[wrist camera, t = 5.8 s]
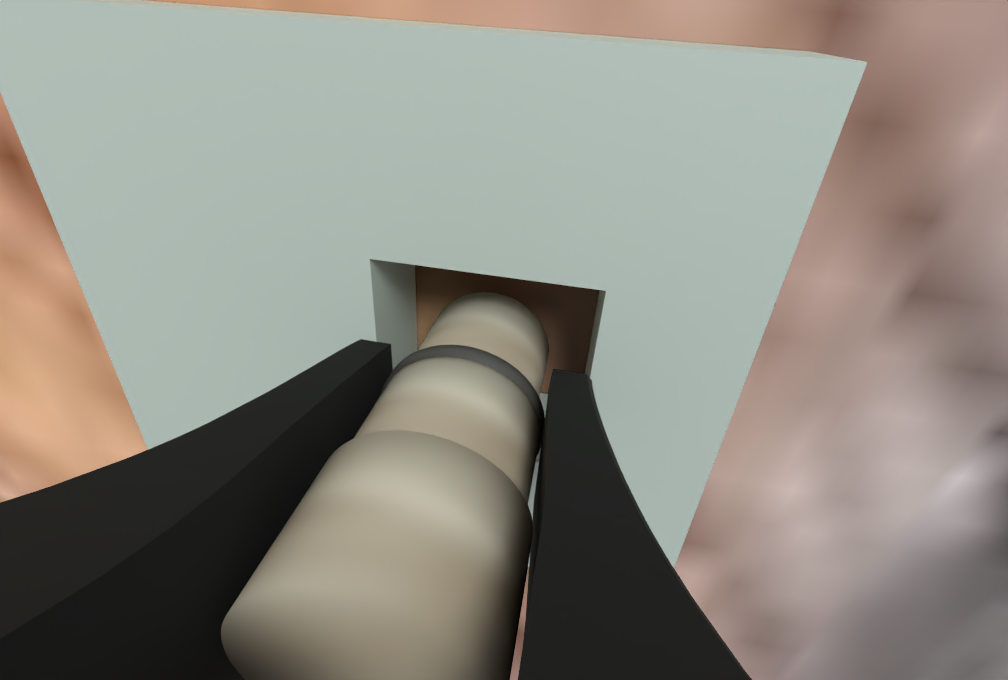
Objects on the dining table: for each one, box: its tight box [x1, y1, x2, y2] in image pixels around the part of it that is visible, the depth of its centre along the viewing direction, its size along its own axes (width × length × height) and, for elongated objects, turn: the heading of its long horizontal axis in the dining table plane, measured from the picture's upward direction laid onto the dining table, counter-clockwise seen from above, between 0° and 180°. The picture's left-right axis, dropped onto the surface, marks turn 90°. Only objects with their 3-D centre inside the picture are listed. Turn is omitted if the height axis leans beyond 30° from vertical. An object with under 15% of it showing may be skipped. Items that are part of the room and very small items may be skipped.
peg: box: [221, 292, 549, 680], centre depth 9 cm, size 3×3×7 cm
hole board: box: [0, 0, 867, 568], centre depth 12 cm, size 14×12×2 cm
